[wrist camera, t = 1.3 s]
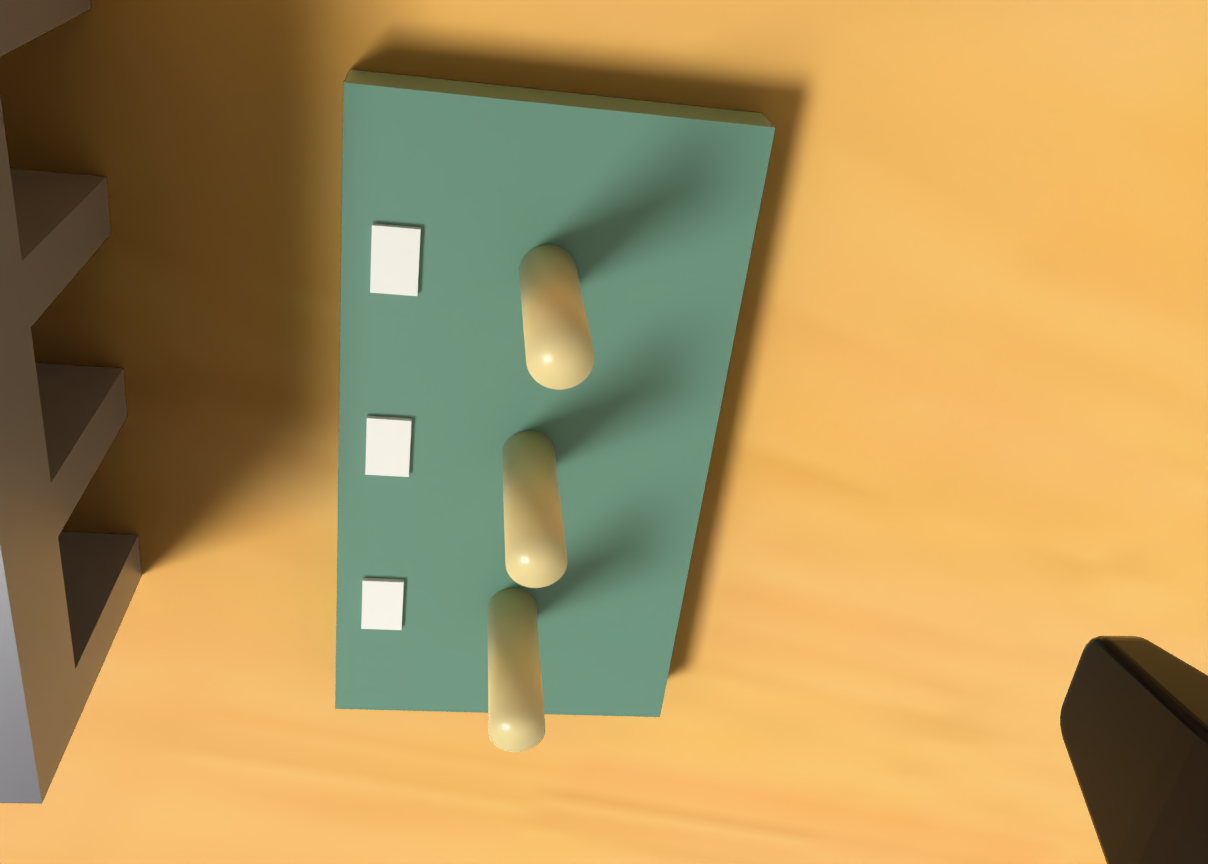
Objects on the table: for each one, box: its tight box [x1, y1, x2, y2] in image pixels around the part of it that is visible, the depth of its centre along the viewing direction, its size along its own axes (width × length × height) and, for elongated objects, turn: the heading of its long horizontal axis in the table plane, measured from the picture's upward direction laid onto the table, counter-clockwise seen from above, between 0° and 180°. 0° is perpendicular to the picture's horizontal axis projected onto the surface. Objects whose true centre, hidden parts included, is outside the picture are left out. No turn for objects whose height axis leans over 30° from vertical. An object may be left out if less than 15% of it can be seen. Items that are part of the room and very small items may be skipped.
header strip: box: [335, 69, 775, 752], centre depth 20 cm, size 13×7×4 cm, turn 173°
